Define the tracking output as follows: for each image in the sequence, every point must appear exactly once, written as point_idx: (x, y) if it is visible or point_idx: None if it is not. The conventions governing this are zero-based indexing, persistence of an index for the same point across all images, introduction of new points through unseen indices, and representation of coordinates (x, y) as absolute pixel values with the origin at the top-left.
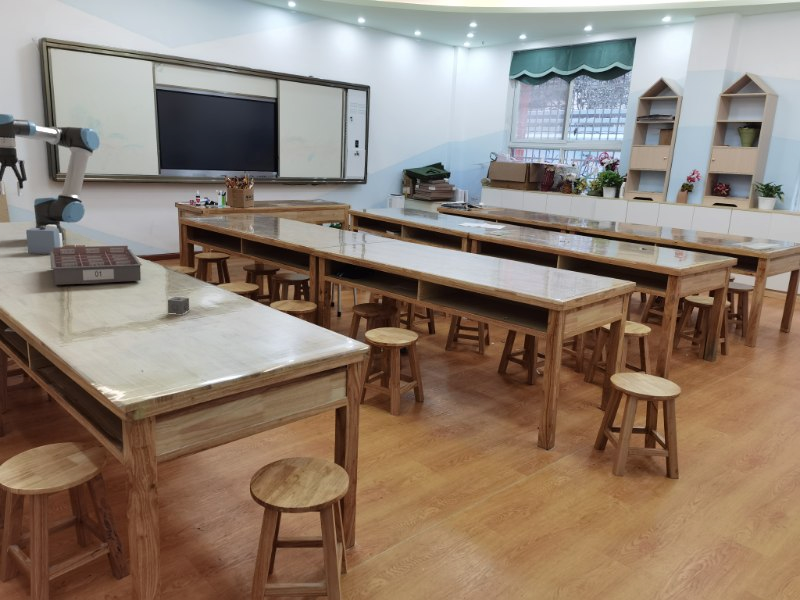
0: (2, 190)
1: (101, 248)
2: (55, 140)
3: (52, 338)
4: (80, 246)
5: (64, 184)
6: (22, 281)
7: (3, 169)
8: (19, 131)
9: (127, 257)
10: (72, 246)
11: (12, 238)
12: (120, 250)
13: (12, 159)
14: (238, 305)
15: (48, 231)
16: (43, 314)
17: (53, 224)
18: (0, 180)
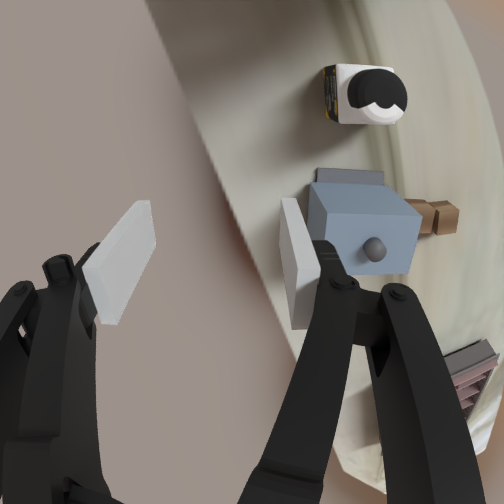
0: (144, 260)
1: (462, 379)
2: None
3: (371, 482)
4: (447, 233)
5: None
6: (344, 427)
7: (93, 454)
8: None
9: (474, 393)
10: (430, 232)
11: None
12: (485, 364)
13: None
14: (483, 428)
15: (392, 272)
16: (367, 469)
17: (390, 95)
18: (90, 310)
